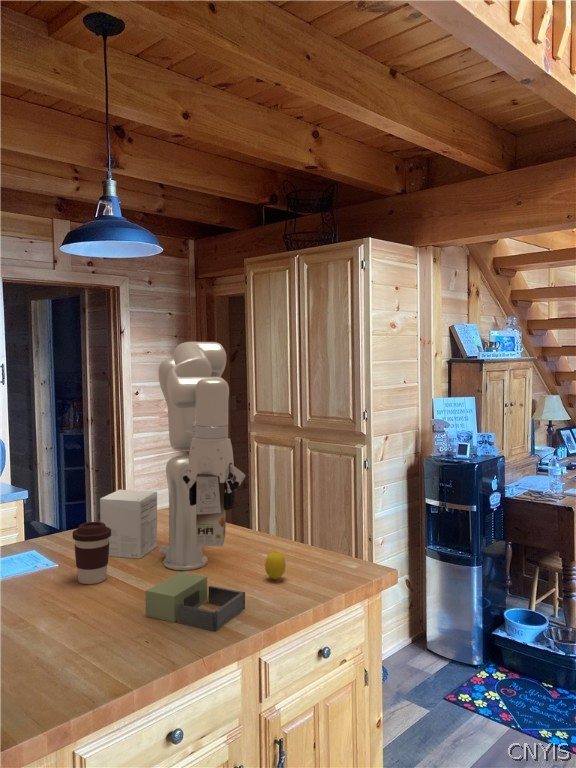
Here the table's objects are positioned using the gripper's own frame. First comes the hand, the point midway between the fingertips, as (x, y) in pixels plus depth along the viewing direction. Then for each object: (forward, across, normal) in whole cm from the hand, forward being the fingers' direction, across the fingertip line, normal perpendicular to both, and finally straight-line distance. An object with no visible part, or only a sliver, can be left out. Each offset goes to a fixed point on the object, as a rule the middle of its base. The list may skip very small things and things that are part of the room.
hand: (211, 506), depth 144 cm
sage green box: (+26, -10, 0) cm, 27 cm away
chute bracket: (+26, 0, 0) cm, 26 cm away
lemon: (+26, +4, +27) cm, 38 cm away
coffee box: (+8, 0, 0) cm, 8 cm away
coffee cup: (+26, -40, +5) cm, 48 cm away
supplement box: (+26, -48, +29) cm, 61 cm away
